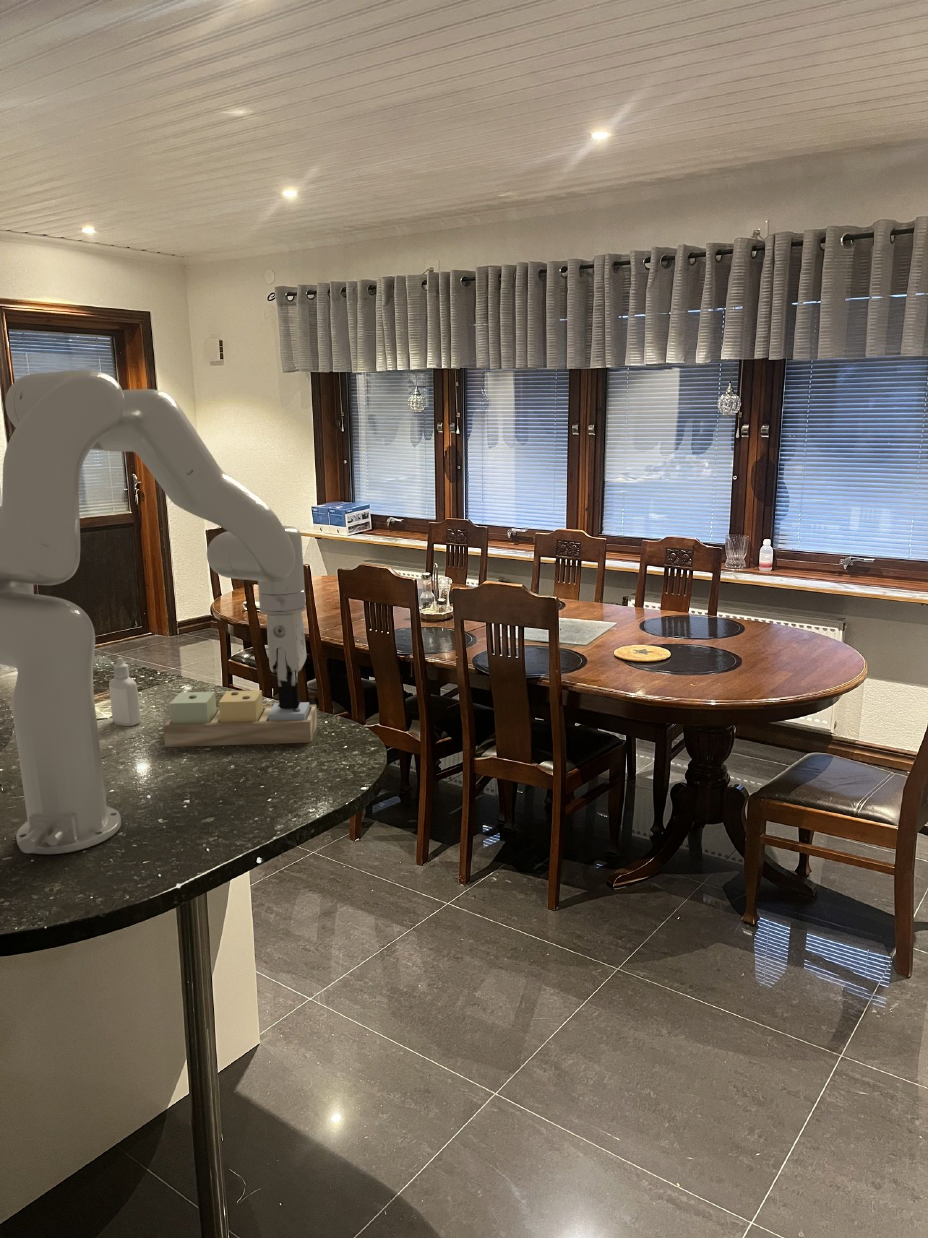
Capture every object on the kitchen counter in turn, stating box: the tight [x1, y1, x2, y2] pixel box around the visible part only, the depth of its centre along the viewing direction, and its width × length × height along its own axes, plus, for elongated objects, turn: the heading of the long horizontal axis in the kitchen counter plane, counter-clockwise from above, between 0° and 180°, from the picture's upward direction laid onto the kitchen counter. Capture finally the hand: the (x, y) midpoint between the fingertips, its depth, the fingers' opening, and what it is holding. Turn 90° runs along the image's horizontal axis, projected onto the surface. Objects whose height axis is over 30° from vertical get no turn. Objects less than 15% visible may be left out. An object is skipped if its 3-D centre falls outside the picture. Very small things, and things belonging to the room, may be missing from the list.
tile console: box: [162, 704, 318, 748], centre depth 152 cm, size 9×24×4 cm, turn 92°
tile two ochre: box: [218, 689, 264, 722], centre depth 151 cm, size 6×6×4 cm
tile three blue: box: [268, 701, 310, 721], centre depth 152 cm, size 6×6×4 cm
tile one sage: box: [169, 691, 217, 724], centre depth 151 cm, size 6×6×4 cm
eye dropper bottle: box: [108, 657, 142, 727], centre depth 158 cm, size 4×6×12 cm
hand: (289, 706), depth 152 cm, fingers closed
